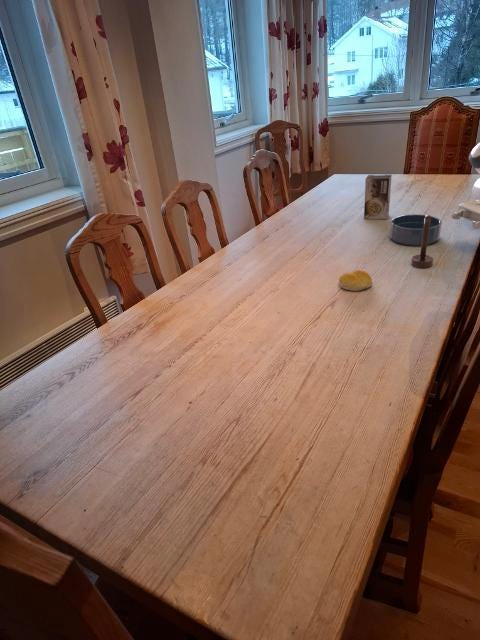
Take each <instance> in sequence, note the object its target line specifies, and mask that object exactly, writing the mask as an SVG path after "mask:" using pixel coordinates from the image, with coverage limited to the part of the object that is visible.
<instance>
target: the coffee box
mask: <svg viewBox="0 0 480 640" xmlns="http://www.w3.org/2000/svg"><path fill="white" fill-rule="evenodd" d="M392 175H393V174H389V173H388V174H386V173H385V174H368V175H367V176H366V177H365V184H364V206H363V207H364V209H363V219H364V220H388V217H389V215H390V201H391V190H392V189H391V187H392Z"/></svg>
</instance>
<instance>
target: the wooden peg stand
mask: <svg viewBox="0 0 480 640" xmlns="http://www.w3.org/2000/svg"><path fill="white" fill-rule="evenodd" d="M425 215H426V216H425V220H424V228H423V236H422V244H421V246H420V252H419V254H416V255H413V256H411V261H410V262H411V263H410V265H411V266H412V267H414V268H417V269H430V268H431V267H433V263H434V258H433V256H431V255H427V251H428V245H427V242H428V235H429V228H430V221H431V216H432V215H429V214H425Z"/></svg>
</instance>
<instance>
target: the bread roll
mask: <svg viewBox="0 0 480 640" xmlns="http://www.w3.org/2000/svg"><path fill="white" fill-rule="evenodd" d="M338 284H339V286H340V288H342V289H343V290H346V291H353V292H359V291H363V290H367V289H368V288H370V287H371V286H372V285H373V280H372V277H371V275H370V274H369V273H368V272H367V271H366V270H363V269H356V270H353V271H352V272H345V273H343V274H341V275H340V276H339V278H338Z"/></svg>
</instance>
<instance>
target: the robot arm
mask: <svg viewBox="0 0 480 640" xmlns="http://www.w3.org/2000/svg"><path fill="white" fill-rule="evenodd" d="M468 161H469V163H470V165H471V167H472V168H473V169H475V171H476V172H477V174H478V175H479V176H480V142H478V143H477V144H476V145H475V146H474V147H473V148H472V149H471V150H470V153H469V155H468ZM471 195H472V197H473V200H470V201H466V202H462V203H460V204H458V206H457V211H455V212H453V213H452V214H451V219H454V220H460V219H461V218H463V219H466V220H468V221H470V222H472V228H475V229H477V230H478V229H480V178H478V179H477V180H476V181H475V182H474V184H473V186H472V189H471Z"/></svg>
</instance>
